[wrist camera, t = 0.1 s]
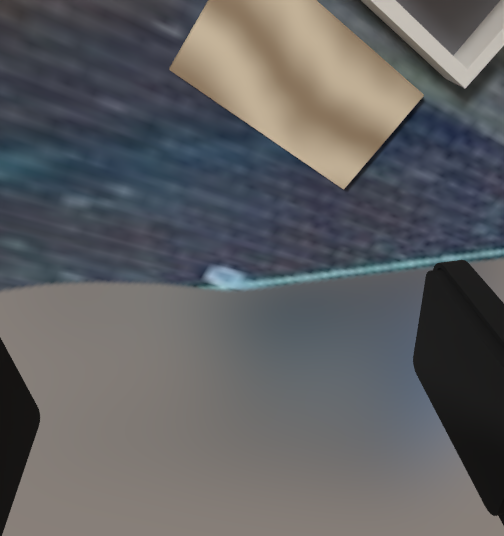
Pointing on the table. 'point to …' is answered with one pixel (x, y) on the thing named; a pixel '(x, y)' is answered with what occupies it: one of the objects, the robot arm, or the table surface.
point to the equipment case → (447, 32)
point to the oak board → (297, 80)
